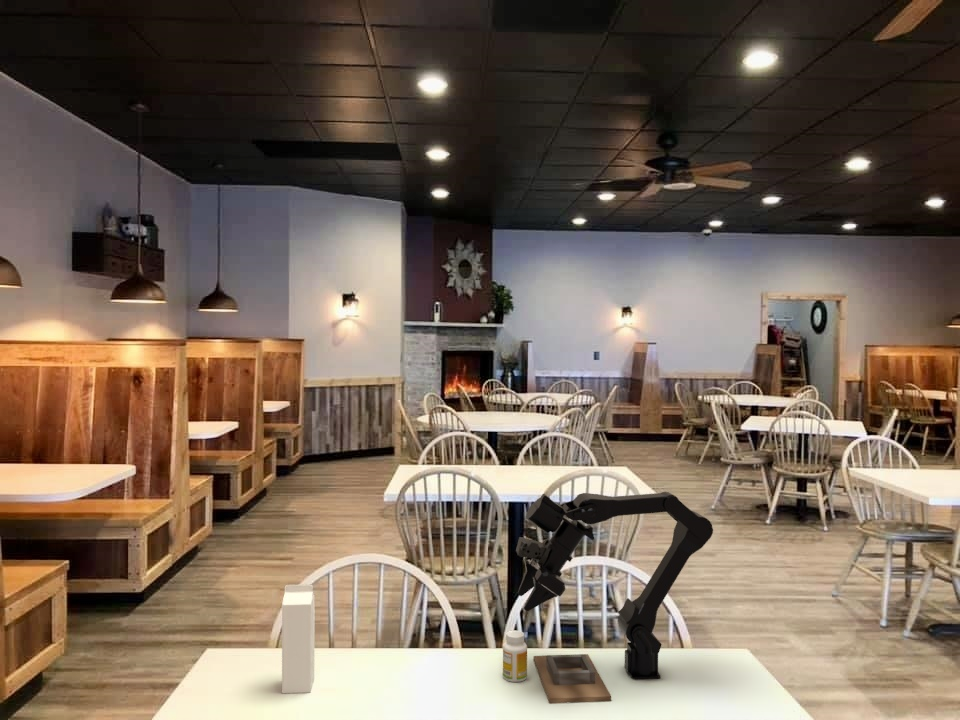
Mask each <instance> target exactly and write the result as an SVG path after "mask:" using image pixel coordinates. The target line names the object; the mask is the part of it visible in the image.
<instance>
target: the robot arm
mask: <svg viewBox="0 0 960 720" xmlns="http://www.w3.org/2000/svg"><path fill="white" fill-rule="evenodd" d="M657 513H667V514H668V515H669V516H670V517H671V518H672V519H673V520H675V522H676V523H675V526H674V529H673V534H672V541H671V544H670V546H669V548H668V549H667V551H666V552H665V554H664V555H663V557H662V559H661V561H660V562H659V564H658V565H657V567H656V569H655V570H654V572H653V573H652V575H651V577H650V579H649V581H648V582H647V584H646V585H645V587H644V589H643V590H642V592H641V594H640V595H639V596H638V597H637V598H636V599H634V600H633V601H632V600H631V599H630V598H626V600H625V601H624V604H623V606H622V608H621V609H620V610H618V612H617V613H618V614H619V615H618V618H617V623H618V627H619V629H620V630H621V632H622V633H623V635H624V636H625V637H626V639H627V641H628V642H627V643H626V649H625V650H624V668H625V670H626V672H627V673H628V674H629V676H630V677H631V679H633V680H641V679H643V680H644V679H646V680H648V679H660V678H661V677H662V676H661V674H660V672H659V653H660V650H661V647H662V643H661V641H659V639H658V638H657V637H656V635H655V634H654V633H653V631H654V628H655V625H656V621H657V614H658V610H659V608H660V606H661V605H662V603H663V601H664V600H665V598H666V596H667V595H668V593H669V591H670V590H671V588H672V587H673V585H674V583H675V582H676V581H677V578H678V576H679V575H680V574H681V572H682V570H683V569H684V567H685V565H686V563H687V562H688V560H689V559H690V557H691V556H692V555H693V554H695V553H696V552H698V551H700V550H701V549H703V548H704V546H705V545H706V543H708V541H709V540H710V539H711V538H712V536H713V533H714V528H713V524H712V522H711V521H710V520H709V519H708V518H706V517H705V516H704V515H702V514H700V513H699V512H697V511H694V510H691V509H690V508H689V507H687V506H686V505H685V504H684V503H683V502H681V501H680V500H679V498H678V497H677V496H676V495H674V494H672V493H671V492H669V491H662V492H659V493H658V492H656V493H644V494H632V495H631V494H630V495H629V494H628V495H619V496H618V495H617V496H608V495H603V494H598V493H590V492H589V493H588V492H582V493H579V494H577V496H576V497H574V499H572V500H570V501H567V502H564V503H561V504H558V503H557V502H555V501H554V500H552V499H551V498H550V497H549V496H548V495H547V494H545V493H543V494H542V495H540V497H539V498H537V499H536V500H535V501H534V502H532V503H531V505H530V506H529V508H528V510H527V512H526V515H525V519H526V520H527V521H529V522H530V523H532V524H533V525H534V526H536V527H537V528H539V529H540V530H542V531H543V532H544V533H546V534H547V533H550V532H551V533H553V534H552V536H551V537H550V538H548V537H547V538H545V539H543V540H544V541H542V542H541V541H537V540H533V539H531V538H527V537H521V536H519V537H518V541H517V544H516V547H515V548H516V549H515V552H516V554H517V556H519V557H520V558H524V559H523V561H524V565H525V571H524V574H523V577H522V580H521V583H520V585H519V588H518V591H517V595H518V596H520V597H522V596H523V597H524V595H525V594H526V593H528V592H529V591H531V592H530V594H529V596H528V597H527V600H526V602H525V604H524V606H523V610H525V611H526V612H529V611H531V610H533V609H534V608H536V607H539V606H540V605H543V603H546V602H548V601H549V600H551V599H552V600H553V598H557V597H561V596H562V595H563V593H564V592H565V590H566V586H565V582H564V580H563V579H562V577H561V575H562V574H563V573H562V569H563V568H564V566H565V565H566V563H567V562H569V563H570V562H571V561H572V560H573V557H572V554H573V553H574V551H575V550H576V548H578V546H579V544H580V543H581V542H582V540H584V537H587V538H588V539H589V540H592V541H594V540H595V536H594V531H593V530H594V528H593V526H592V525H595V524H598V523H602V522H606V521H608V520H610V519H613V518H615V517H620V516H622V517H623V516H632V515H634V516H635V515H644V514H645V515H646V514H657ZM580 521H582V522H580ZM583 523H584V524H583Z"/></svg>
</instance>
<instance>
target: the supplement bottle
mask: <svg viewBox="0 0 960 720" xmlns="http://www.w3.org/2000/svg"><path fill="white" fill-rule="evenodd" d="M505 640H506V641H505V642H504V643H503V645H502V678H503V679H504V680H506V682H507V681H508V682H511V683H519V682H520V683H521V682H523V681H525V680H526V679H527V677H528V645H527V643H526V642H525V633H524V632H523V631H521V630H515V629H514V630H510V631H507V632H506V633H505Z"/></svg>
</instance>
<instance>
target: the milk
mask: <svg viewBox="0 0 960 720" xmlns="http://www.w3.org/2000/svg"><path fill="white" fill-rule="evenodd" d="M315 597H316V595H315V593H314V586H313V584H286V585H284V595H283V599H282V603H281V604H282V605H281V694H305V693H306V694H307V693H312V689H313V685H314V682H315V636H316V635H315V627H316V626H315V622H316V621H315V619H316V618H315V616H316V614H315V609H316V607H315Z"/></svg>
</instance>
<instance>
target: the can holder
mask: <svg viewBox="0 0 960 720" xmlns="http://www.w3.org/2000/svg"><path fill="white" fill-rule="evenodd" d="M532 660H533V663H534V665H535V668H536V672H537V674H538V676H539V680H540V682H541V684H542V688H543V690H544V692H545V695H546V698H547V700H548V701H547V702H548V704H565V703H567V702H570V703H588V702H589V703H591V702H592V703H594V702H597V703H598V702H612V695H611V693H610V691H609V690H608V688H607V686H606V684H605V682H604V680H603V679H602V677H601V675H600V673H599V671H598V669H597V668H596V666H595V664H594V663H593V661H592V658H591V656H590V655H589V654H588V653H579V654H549V655H548V654H547V655H533V659H532ZM567 704H568V703H567Z"/></svg>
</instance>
